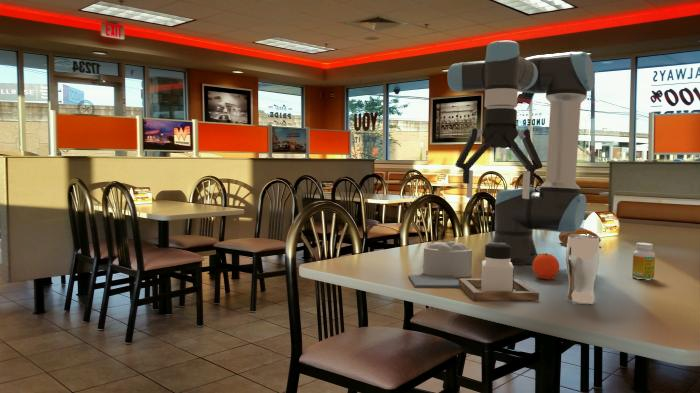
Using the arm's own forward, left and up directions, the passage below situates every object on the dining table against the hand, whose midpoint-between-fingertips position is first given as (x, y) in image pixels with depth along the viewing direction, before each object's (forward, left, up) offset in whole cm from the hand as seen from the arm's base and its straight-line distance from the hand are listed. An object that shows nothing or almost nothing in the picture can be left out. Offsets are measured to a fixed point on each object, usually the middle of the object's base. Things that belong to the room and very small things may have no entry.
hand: (497, 198), depth 136 cm
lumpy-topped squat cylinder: (+6, -23, -23) cm, 33 cm away
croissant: (-56, -79, -23) cm, 99 cm away
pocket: (-1, 0, -23) cm, 23 cm away
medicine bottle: (-1, 0, -23) cm, 23 cm away
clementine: (-19, -17, -23) cm, 34 cm away
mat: (+12, -11, -23) cm, 28 cm away
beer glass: (-18, +8, -23) cm, 30 cm away
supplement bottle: (-47, -18, -23) cm, 55 cm away
